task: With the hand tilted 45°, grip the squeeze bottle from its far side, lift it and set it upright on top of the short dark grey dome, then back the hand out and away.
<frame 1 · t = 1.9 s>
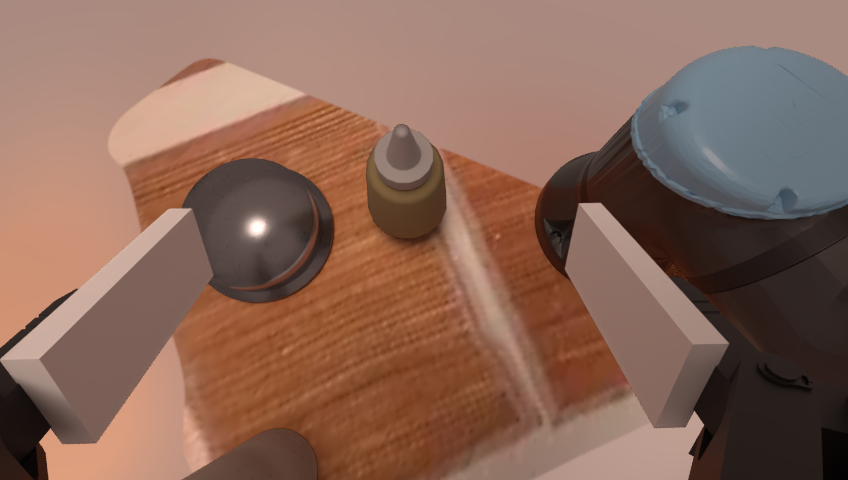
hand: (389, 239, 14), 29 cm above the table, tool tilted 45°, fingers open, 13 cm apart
thermos bottle: (276, 472, 39), on the table
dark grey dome: (264, 233, 45), on the table
squeeze bottle: (408, 211, 46), on the table
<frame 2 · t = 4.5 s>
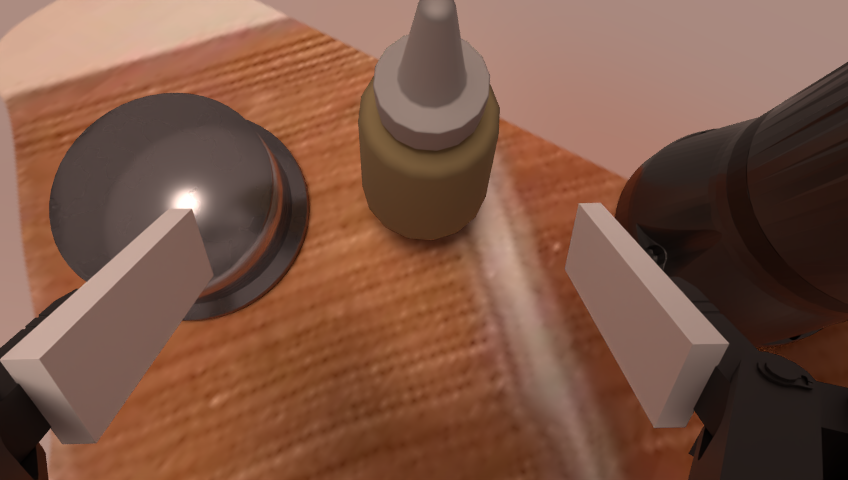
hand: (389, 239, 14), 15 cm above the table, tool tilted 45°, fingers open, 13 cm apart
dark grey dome: (203, 214, 29), on the table
squeeze bottle: (423, 198, 30), on the table
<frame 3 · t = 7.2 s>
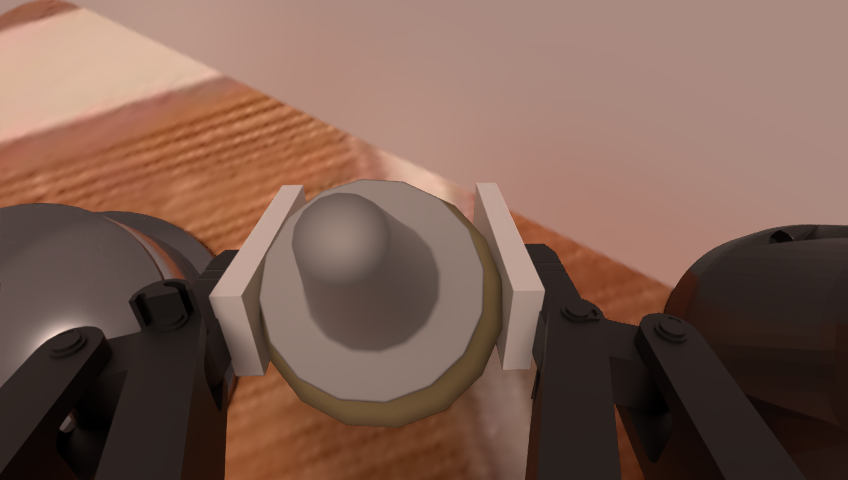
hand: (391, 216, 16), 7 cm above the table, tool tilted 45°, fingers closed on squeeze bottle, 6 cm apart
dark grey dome: (98, 351, 22), on the table
squeeze bottle: (399, 320, 22), on the table, touching gripper
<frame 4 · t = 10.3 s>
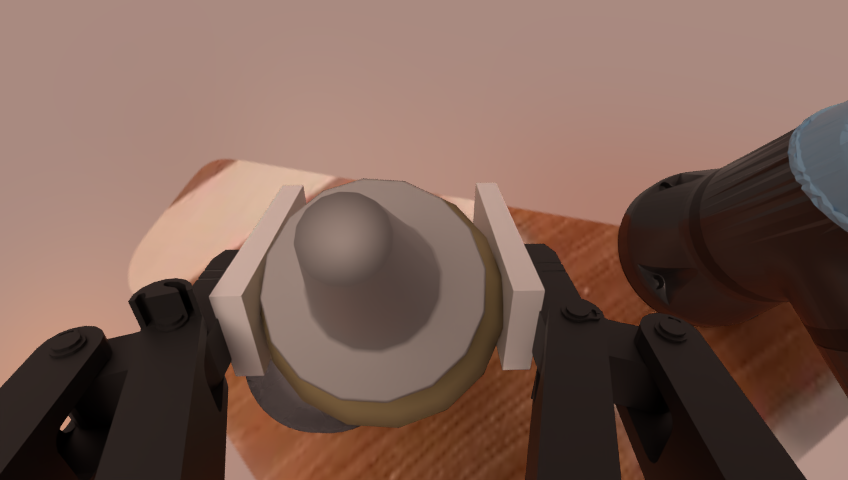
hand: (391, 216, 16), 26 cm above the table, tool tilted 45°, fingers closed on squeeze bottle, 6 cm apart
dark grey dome: (333, 347, 40), on the table
squeeze bottle: (400, 320, 22), point 18 cm above the table, touching gripper
when the fingers open (14 cm above the table, at t = 13.6 s): squeeze bottle drops 1 cm, resting on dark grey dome.
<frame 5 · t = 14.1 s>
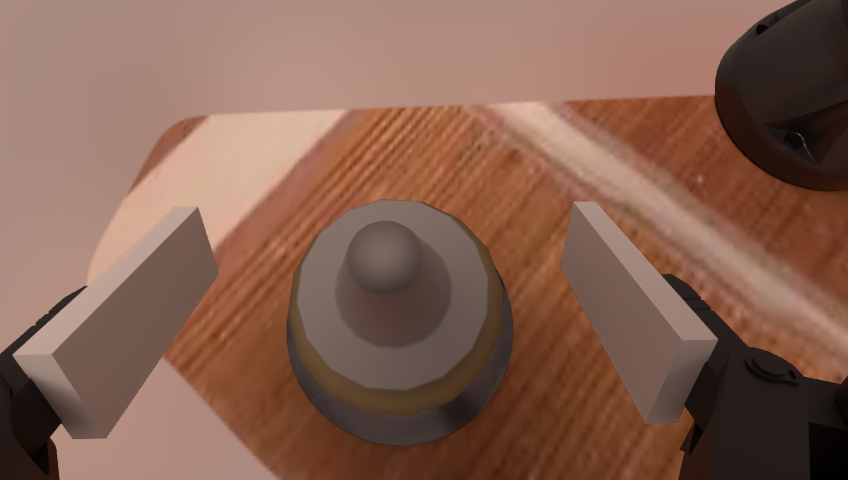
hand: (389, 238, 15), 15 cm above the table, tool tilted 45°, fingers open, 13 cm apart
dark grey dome: (402, 325, 29), on the table
squeeze bottle: (403, 322, 24), point 5 cm above the table, touching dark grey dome
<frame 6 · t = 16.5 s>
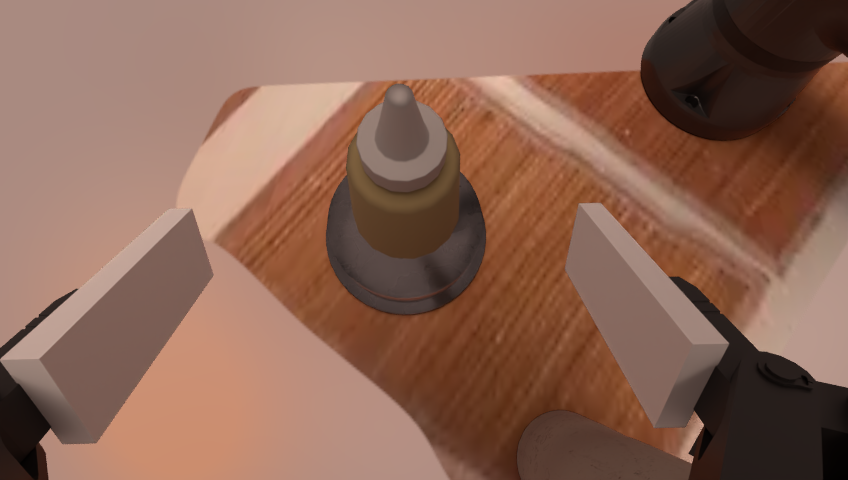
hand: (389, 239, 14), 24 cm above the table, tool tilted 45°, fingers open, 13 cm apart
thermos bottle: (562, 459, 35), on the table
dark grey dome: (406, 235, 39), on the table
squeeze bottle: (407, 221, 35), point 5 cm above the table, touching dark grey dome
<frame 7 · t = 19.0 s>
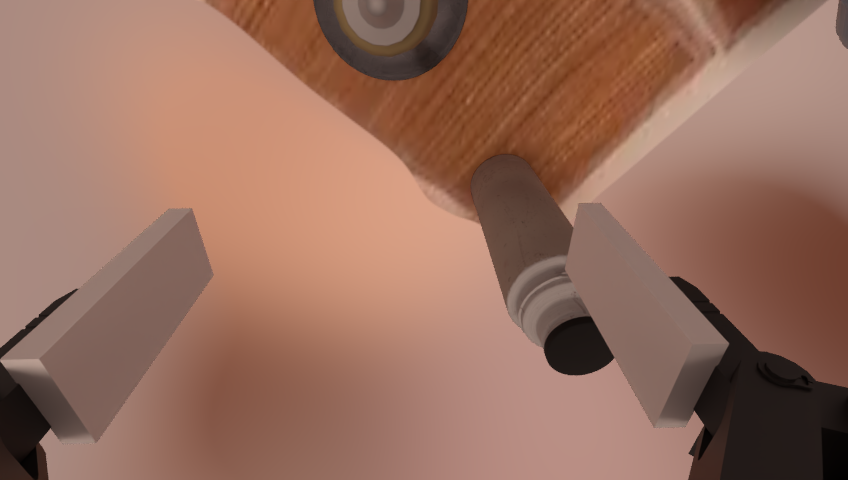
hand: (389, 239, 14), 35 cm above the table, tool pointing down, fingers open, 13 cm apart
thermos bottle: (502, 184, 51), on the table
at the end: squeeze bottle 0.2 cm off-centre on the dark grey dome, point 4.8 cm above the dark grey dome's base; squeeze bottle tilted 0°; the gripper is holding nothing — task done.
